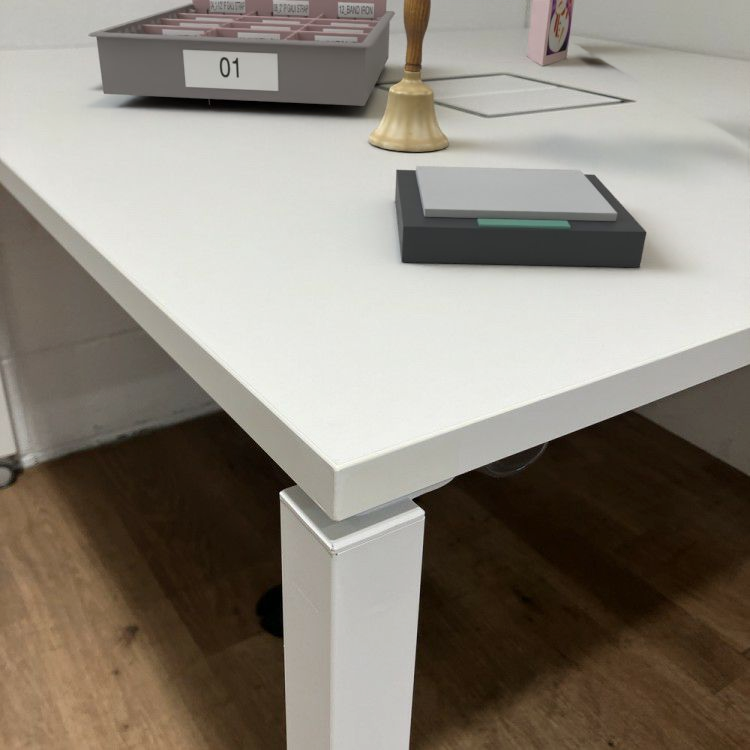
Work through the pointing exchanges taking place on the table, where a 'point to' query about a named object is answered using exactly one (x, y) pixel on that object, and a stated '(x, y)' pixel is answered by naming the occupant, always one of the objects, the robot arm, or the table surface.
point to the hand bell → (411, 95)
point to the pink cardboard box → (549, 30)
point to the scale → (513, 218)
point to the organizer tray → (250, 51)
